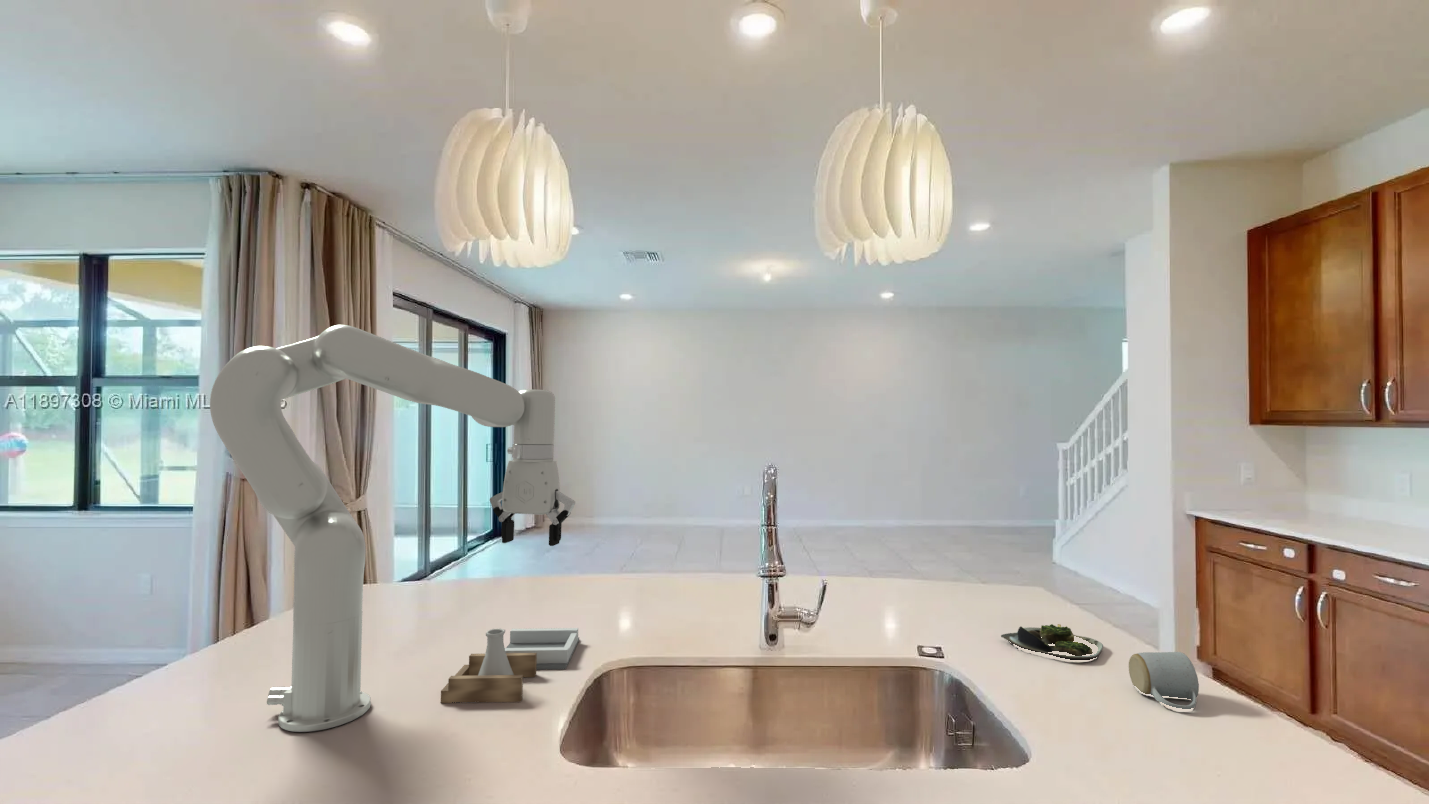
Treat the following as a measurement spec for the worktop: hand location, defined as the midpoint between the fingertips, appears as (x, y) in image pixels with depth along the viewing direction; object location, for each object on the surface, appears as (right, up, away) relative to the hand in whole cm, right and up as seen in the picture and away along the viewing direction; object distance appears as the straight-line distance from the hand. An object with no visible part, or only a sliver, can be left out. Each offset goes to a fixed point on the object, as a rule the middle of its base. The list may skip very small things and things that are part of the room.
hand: (530, 543), depth 119 cm
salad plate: (+107, -26, +13) cm, 111 cm away
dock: (-1, -24, +7) cm, 25 cm away
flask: (-4, -24, -9) cm, 26 cm away
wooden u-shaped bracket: (-4, -24, -9) cm, 25 cm away
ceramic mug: (+113, -25, -12) cm, 117 cm away
